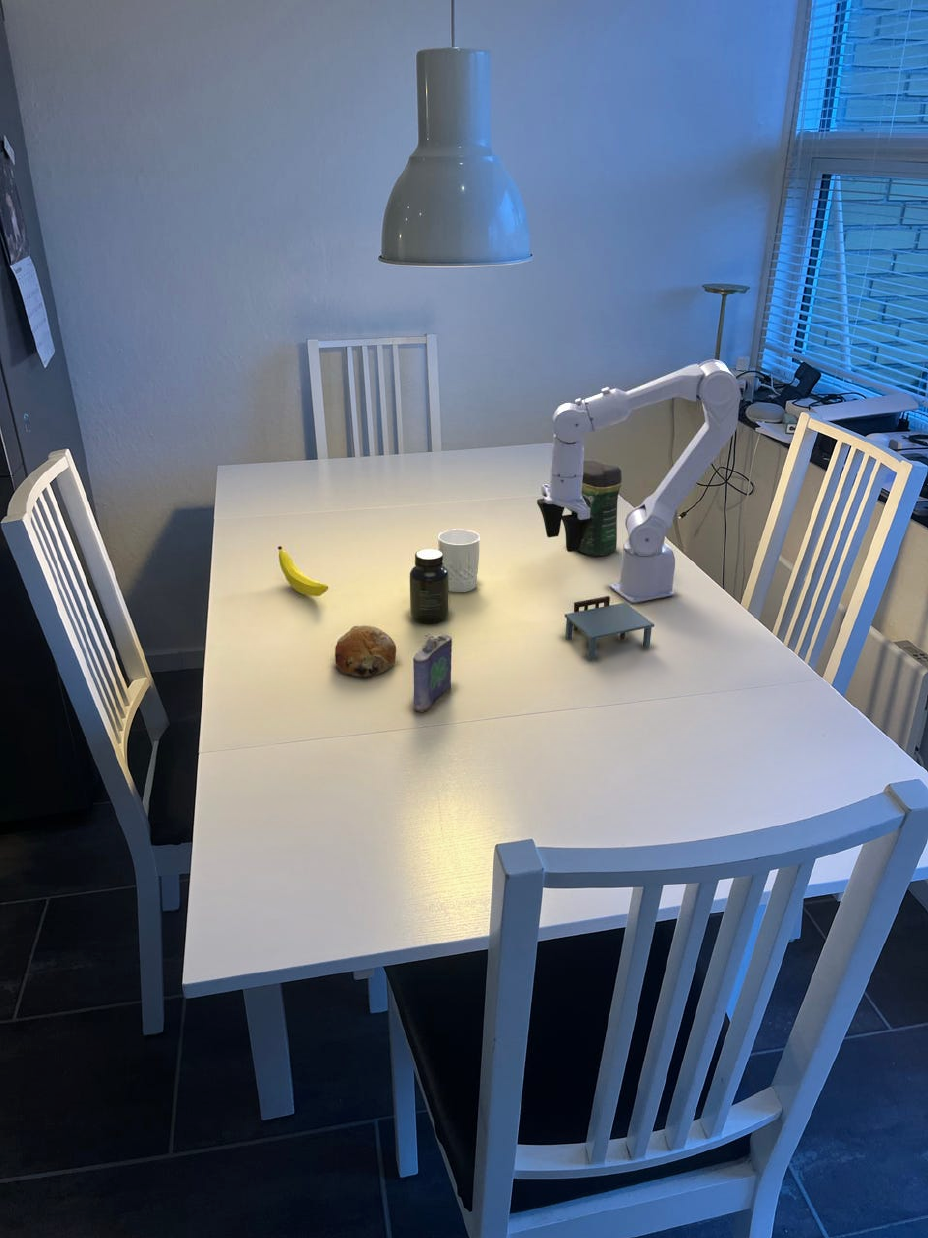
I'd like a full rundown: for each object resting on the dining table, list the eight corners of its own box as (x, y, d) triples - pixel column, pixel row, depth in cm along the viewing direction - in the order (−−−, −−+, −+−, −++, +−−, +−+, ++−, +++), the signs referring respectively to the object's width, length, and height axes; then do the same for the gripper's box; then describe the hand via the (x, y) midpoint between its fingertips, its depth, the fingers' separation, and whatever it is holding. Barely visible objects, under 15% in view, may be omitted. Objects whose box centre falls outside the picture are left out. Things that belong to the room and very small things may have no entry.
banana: (322, 613, 171) (319, 581, 168) (274, 578, 185) (271, 547, 182) (336, 609, 173) (334, 577, 170) (288, 574, 186) (285, 544, 184)
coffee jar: (622, 551, 198) (630, 465, 190) (594, 560, 194) (601, 472, 185) (590, 537, 205) (596, 453, 196) (562, 545, 201) (567, 460, 192)
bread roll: (402, 678, 158) (409, 630, 158) (378, 682, 148) (386, 631, 148) (347, 668, 161) (354, 621, 160) (320, 671, 151) (328, 621, 151)
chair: (603, 622, 169) (605, 593, 166) (626, 640, 163) (628, 611, 160) (569, 629, 166) (571, 600, 164) (591, 648, 160) (593, 618, 158)
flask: (424, 714, 141) (423, 650, 137) (407, 709, 143) (406, 646, 138) (455, 686, 149) (455, 625, 144) (438, 682, 150) (438, 621, 145)
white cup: (475, 596, 178) (475, 546, 174) (433, 592, 180) (433, 542, 175) (482, 579, 185) (483, 530, 181) (443, 575, 186) (442, 527, 182)
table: (623, 625, 168) (625, 602, 166) (651, 647, 161) (654, 623, 159) (563, 637, 164) (564, 614, 162) (589, 661, 156) (591, 637, 154)
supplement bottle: (413, 606, 174) (412, 545, 168) (450, 608, 173) (450, 547, 168) (407, 623, 168) (406, 560, 162) (446, 625, 167) (446, 562, 162)
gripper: (528, 463, 175) (525, 532, 181) (567, 487, 163) (562, 560, 169) (561, 459, 178) (558, 527, 184) (602, 482, 166) (597, 554, 172)
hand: (562, 543), depth 177 cm, fingers open, 7 cm apart
